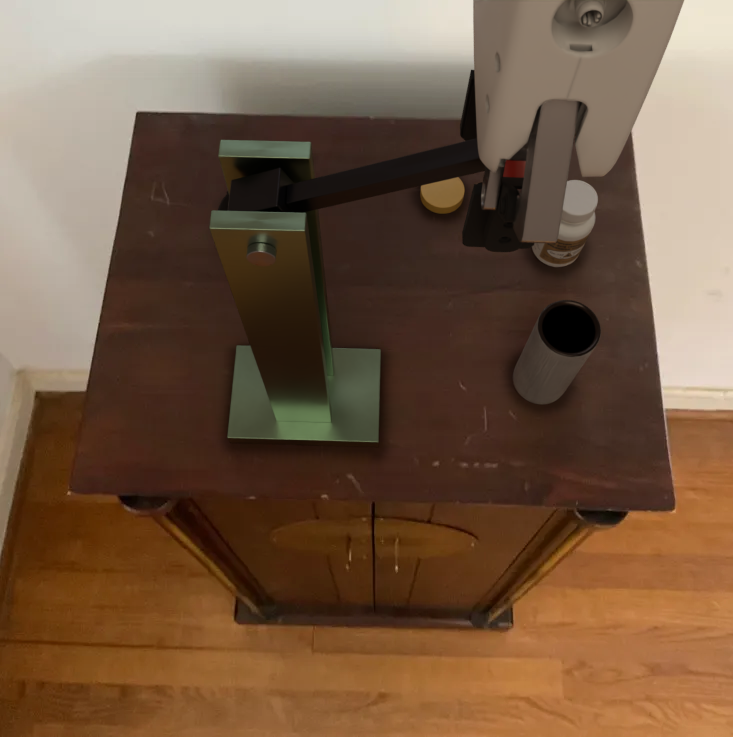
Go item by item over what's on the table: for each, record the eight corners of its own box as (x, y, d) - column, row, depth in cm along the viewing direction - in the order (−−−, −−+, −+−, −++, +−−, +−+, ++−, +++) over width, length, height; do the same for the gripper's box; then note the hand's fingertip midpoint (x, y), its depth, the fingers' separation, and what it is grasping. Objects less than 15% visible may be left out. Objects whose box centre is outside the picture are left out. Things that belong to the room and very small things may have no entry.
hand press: (380, 356, 65) (391, 118, 37) (378, 447, 62) (388, 261, 34) (239, 352, 65) (145, 112, 38) (230, 443, 62) (120, 255, 35)
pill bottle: (540, 273, 68) (561, 226, 61) (523, 232, 70) (542, 181, 62) (587, 262, 68) (613, 213, 61) (569, 221, 70) (592, 169, 63)
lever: (527, 114, 35) (515, 79, 33) (533, 209, 33) (520, 177, 31) (258, 182, 40) (233, 155, 38) (250, 266, 38) (223, 243, 36)
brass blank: (447, 170, 72) (448, 164, 71) (471, 201, 71) (473, 194, 70) (411, 189, 71) (412, 183, 70) (436, 221, 70) (437, 214, 69)
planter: (571, 362, 65) (606, 308, 55) (560, 411, 63) (595, 364, 54) (518, 348, 65) (544, 292, 56) (506, 396, 64) (531, 347, 54)
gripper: (845, 19, 16) (589, 360, 33) (724, -432, 22) (562, 49, 39) (478, 5, 16) (412, 354, 33) (463, -442, 22) (414, 43, 39)
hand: (495, 185), depth 36 cm, fingers open, 5 cm apart
